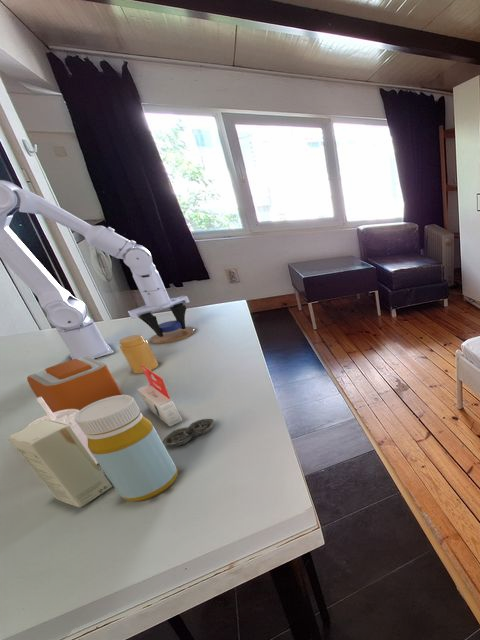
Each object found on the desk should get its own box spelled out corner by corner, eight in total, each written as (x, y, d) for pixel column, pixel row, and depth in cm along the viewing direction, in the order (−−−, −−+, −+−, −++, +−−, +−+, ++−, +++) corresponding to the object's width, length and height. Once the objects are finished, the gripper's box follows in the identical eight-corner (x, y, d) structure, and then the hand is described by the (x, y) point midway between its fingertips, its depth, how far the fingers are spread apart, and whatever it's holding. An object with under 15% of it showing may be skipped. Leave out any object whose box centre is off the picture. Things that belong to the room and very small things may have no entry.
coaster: (146, 337, 110) (145, 336, 110) (188, 325, 118) (187, 324, 118) (156, 346, 104) (156, 345, 104) (200, 333, 111) (199, 332, 111)
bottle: (144, 471, 60) (98, 395, 53) (188, 467, 60) (148, 391, 53) (111, 506, 54) (54, 425, 47) (160, 501, 54) (111, 420, 47)
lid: (164, 334, 106) (162, 329, 106) (155, 330, 109) (152, 326, 108) (185, 326, 111) (183, 322, 110) (176, 324, 113) (174, 319, 113)
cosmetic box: (114, 487, 57) (72, 424, 51) (80, 509, 53) (31, 445, 48) (88, 477, 59) (45, 417, 53) (54, 499, 55) (4, 436, 50)
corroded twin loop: (219, 429, 69) (217, 424, 68) (169, 452, 63) (166, 448, 63) (210, 419, 72) (208, 414, 71) (161, 441, 66) (159, 436, 66)
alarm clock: (142, 420, 72) (109, 361, 66) (88, 447, 66) (45, 384, 59) (109, 402, 79) (76, 346, 73) (56, 425, 72) (14, 366, 66)
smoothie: (77, 483, 58) (25, 412, 52) (47, 478, 59) (-8, 408, 53) (119, 454, 64) (76, 387, 57) (90, 451, 65) (45, 384, 58)
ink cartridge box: (169, 427, 70) (147, 384, 65) (148, 409, 76) (125, 369, 71) (184, 420, 72) (163, 378, 67) (162, 403, 77) (141, 363, 73)
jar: (130, 369, 92) (114, 340, 88) (154, 361, 96) (140, 332, 92) (136, 375, 89) (120, 344, 85) (161, 366, 93) (147, 336, 89)
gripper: (128, 298, 97) (150, 344, 103) (186, 283, 108) (204, 325, 114) (116, 295, 100) (139, 339, 106) (174, 281, 111) (192, 322, 117)
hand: (172, 332), depth 110 cm, fingers closed on lid, 5 cm apart
